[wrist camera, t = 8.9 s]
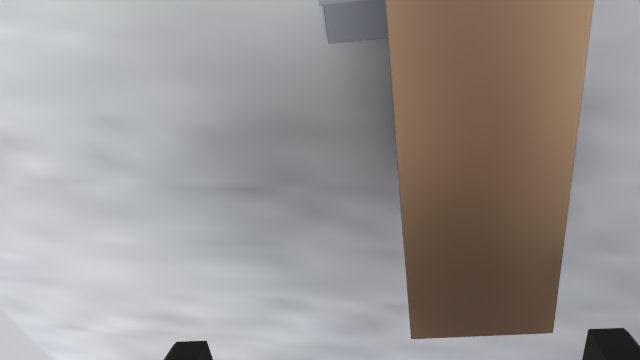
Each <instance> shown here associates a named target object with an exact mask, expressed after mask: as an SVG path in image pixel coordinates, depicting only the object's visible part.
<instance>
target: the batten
mask: <svg viewBox="0 0 640 360" xmlns="http://www.w3.org/2000/svg"><path fill="white" fill-rule="evenodd" d="M593 2H594V0H385V5H386V19H387V32H388V45H389V59H390V72H391V85H392V99H393V112H394V125H395V139H396V152H397V165H398V179H399V192H400V205H401V218H402V230H403V243H404V255H405V267H406V280H407V292H408V304H409V317H410V329H411V339H424V338H447V337H470V336H493V335H516V334H539V333H553V328H554V320H555V311H556V303H557V295H558V287H559V279H560V271H561V263H562V254H563V246H564V238H565V230H566V222H567V214H568V206H569V197H570V189H571V181H572V173H573V165H574V157H575V149H576V140H577V132H578V124H579V116H580V108H581V100H582V92H583V84H584V75H585V67H586V59H587V51H588V43H589V35H590V27H591V18H592V10H593Z"/></svg>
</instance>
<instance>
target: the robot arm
mask: <svg viewBox="0 0 640 360" xmlns="http://www.w3.org/2000/svg"><path fill="white" fill-rule="evenodd" d="M164 360H213V359H212V356H211V353H210V350H209V347H208V344H207V341H189V342H176V343H175V344H174V345H173V346H172V348H171V349H170V351H169V353H168V354H167V356H166V357H165V359H164ZM582 360H640V346H639V345H638V343H637V342H636V341H635V340H634V338H633V337H632V336H631V335H630V334H629V332H627V331H626V330H625V329H624V328H614V329H589V330H588V335H587V340H586V344H585V349H584V354H583V359H582Z"/></svg>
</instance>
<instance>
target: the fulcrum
mask: <svg viewBox="0 0 640 360" xmlns="http://www.w3.org/2000/svg"><path fill="white" fill-rule="evenodd" d="M319 5H324V12H325V20H326V28H327V35H328V43H329V44H330V43H340V42H350V41H360V40H370V39H380V38H388V32H387V19H386V5H385V0H319Z"/></svg>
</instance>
